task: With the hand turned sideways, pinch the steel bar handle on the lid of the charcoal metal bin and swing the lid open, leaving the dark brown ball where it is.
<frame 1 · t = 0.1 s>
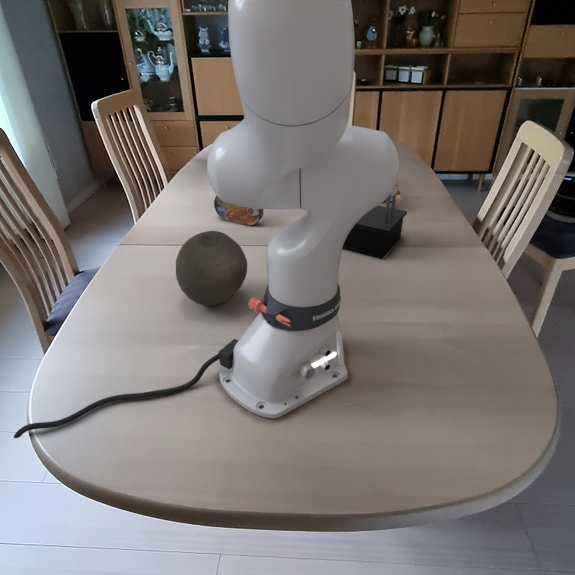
hand: (310, 2, 82), 52 cm above the table, tool tilted 20°, fingers open, 8 cm apart
tin: (240, 221, 127), on the table
cat figure: (381, 197, 139), on the table
bin: (362, 241, 115), on the table
dark brown ball: (215, 300, 94), on the table
bin lid: (367, 201, 108), point 11 cm above the table, hinge at 0.0°
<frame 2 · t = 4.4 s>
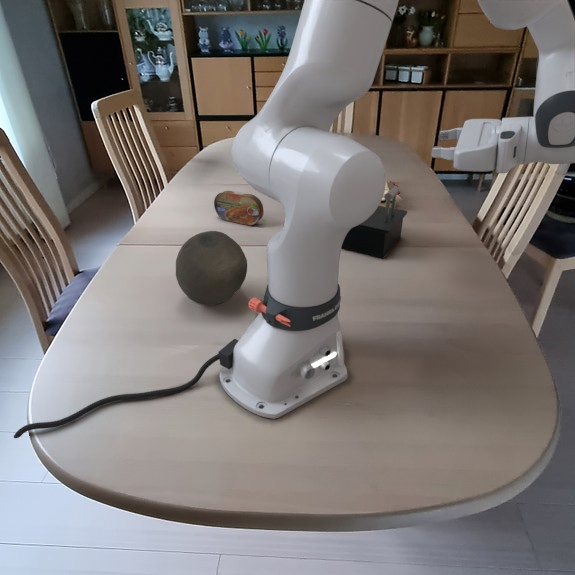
hand: (435, 143, 94), 26 cm above the table, tool horizontal, fingers open, 8 cm apart
nothing on the table moved.
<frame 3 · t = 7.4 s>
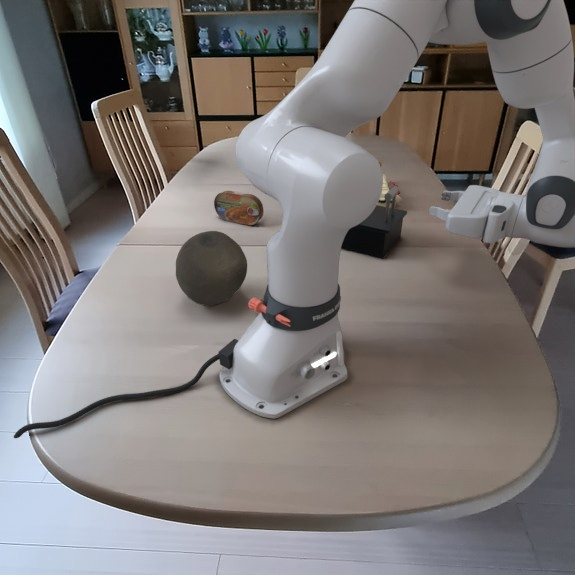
hand: (436, 202, 100), 14 cm above the table, tool horizontal, fingers open, 8 cm apart
nothing on the table moved.
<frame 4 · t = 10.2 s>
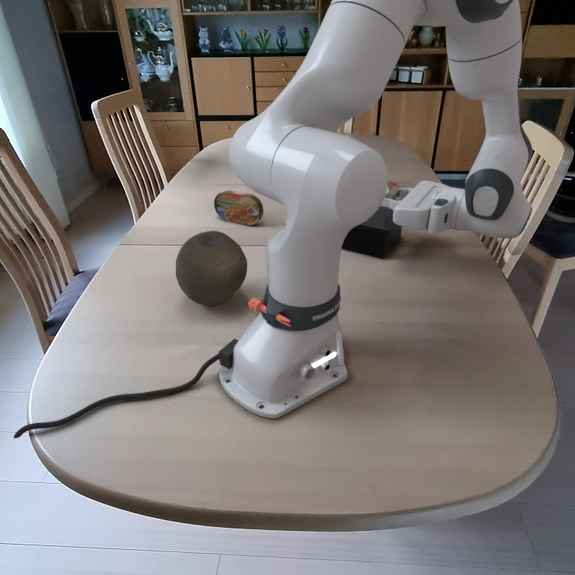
hand: (387, 196, 105), 13 cm above the table, tool horizontal, fingers closed on bin lid, 5 cm apart
bin lid: (367, 201, 108), point 11 cm above the table, hinge at 0.0°, touching gripper
everything else where it was.
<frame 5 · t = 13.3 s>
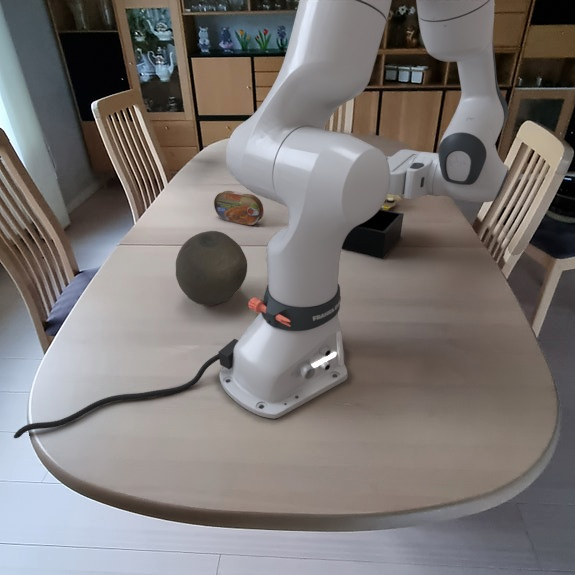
hand: (366, 164, 104), 20 cm above the table, tool horizontal, fingers closed on bin lid, 5 cm apart
bin lid: (355, 183, 108), point 15 cm above the table, hinge at 32.6°, touching gripper
everything else where it was.
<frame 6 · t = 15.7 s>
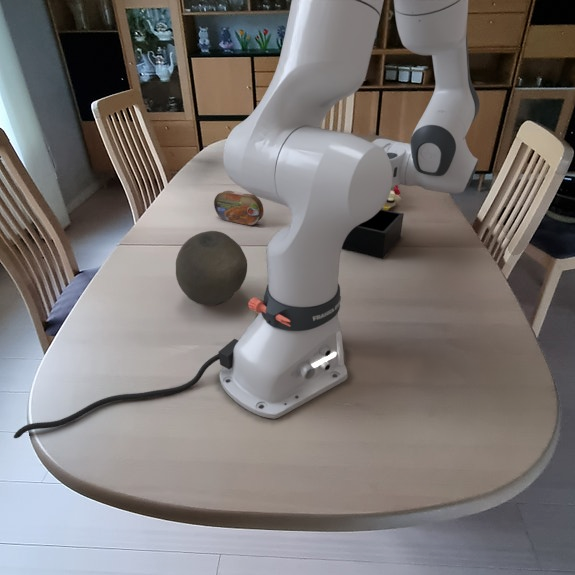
hand: (342, 152, 106), 22 cm above the table, tool horizontal, fingers closed on bin lid, 5 cm apart
bin lid: (343, 176, 109), point 16 cm above the table, hinge at 56.2°, touching gripper
everything else where it was.
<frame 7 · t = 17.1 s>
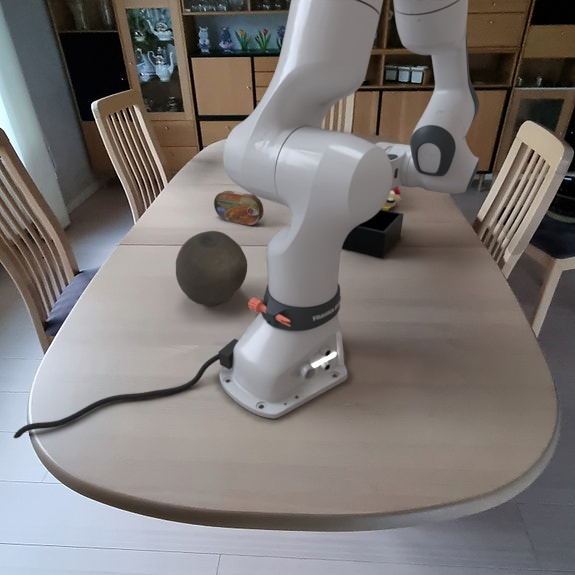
hand: (343, 156, 106), 21 cm above the table, tool horizontal, fingers open, 8 cm apart
bin lid: (345, 177, 108), point 16 cm above the table, hinge at 52.7°
everything else where it was.
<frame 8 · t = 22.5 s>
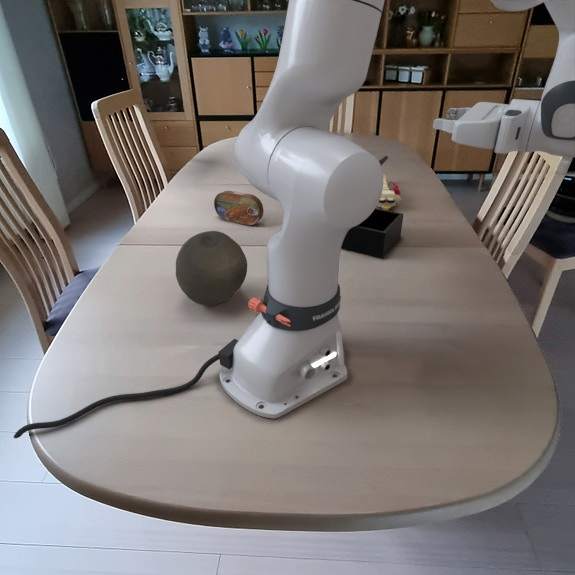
hand: (441, 117, 89), 32 cm above the table, tool horizontal, fingers open, 8 cm apart
nothing on the table moved.
at the end: bin lid at +53° (first picture: +0°); dark brown ball moved 0.2 cm from its start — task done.
